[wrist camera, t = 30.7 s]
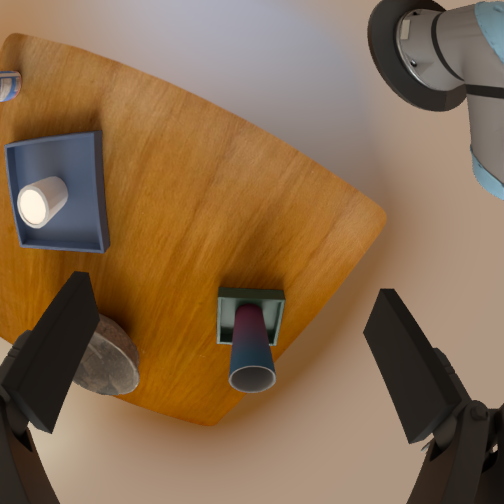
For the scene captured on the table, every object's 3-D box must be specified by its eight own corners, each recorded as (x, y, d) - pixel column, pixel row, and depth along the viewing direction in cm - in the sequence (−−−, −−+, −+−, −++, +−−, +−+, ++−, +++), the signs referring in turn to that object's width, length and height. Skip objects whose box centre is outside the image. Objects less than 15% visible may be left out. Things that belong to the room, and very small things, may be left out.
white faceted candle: (72, 175, 39) (48, 188, 32) (70, 214, 42) (49, 232, 36) (40, 170, 38) (16, 182, 31) (40, 208, 41) (18, 224, 34)
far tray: (283, 290, 51) (285, 299, 49) (274, 335, 56) (276, 345, 54) (218, 286, 50) (217, 296, 48) (217, 333, 56) (216, 343, 53)
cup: (244, 293, 50) (247, 359, 37) (275, 310, 52) (286, 375, 39) (222, 317, 53) (219, 383, 40) (252, 332, 55) (256, 397, 42)
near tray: (102, 130, 36) (94, 132, 34) (110, 245, 45) (104, 253, 43) (13, 141, 35) (4, 145, 32) (28, 240, 44) (20, 247, 41)
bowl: (68, 273, 48) (45, 305, 39) (162, 320, 54) (152, 359, 45) (58, 336, 56) (42, 367, 47) (135, 373, 62) (126, 407, 53)
